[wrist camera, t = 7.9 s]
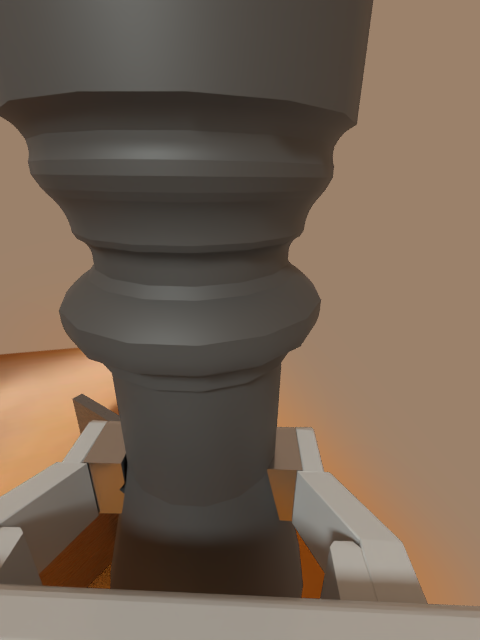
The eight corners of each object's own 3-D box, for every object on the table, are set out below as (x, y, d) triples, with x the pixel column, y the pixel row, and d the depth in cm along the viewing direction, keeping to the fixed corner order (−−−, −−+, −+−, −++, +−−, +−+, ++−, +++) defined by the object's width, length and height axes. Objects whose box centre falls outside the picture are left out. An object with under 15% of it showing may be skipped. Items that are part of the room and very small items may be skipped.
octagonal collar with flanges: (-61, 530, 30) (-86, 483, 27) (125, 410, 45) (120, 373, 43) (64, 724, 19) (40, 674, 17) (250, 481, 35) (251, 437, 32)
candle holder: (267, 600, 18) (314, -4, 8) (303, 795, 12) (643, -474, 2) (150, 618, 17) (32, -29, 7) (131, 837, 11) (-628, -883, 1)
